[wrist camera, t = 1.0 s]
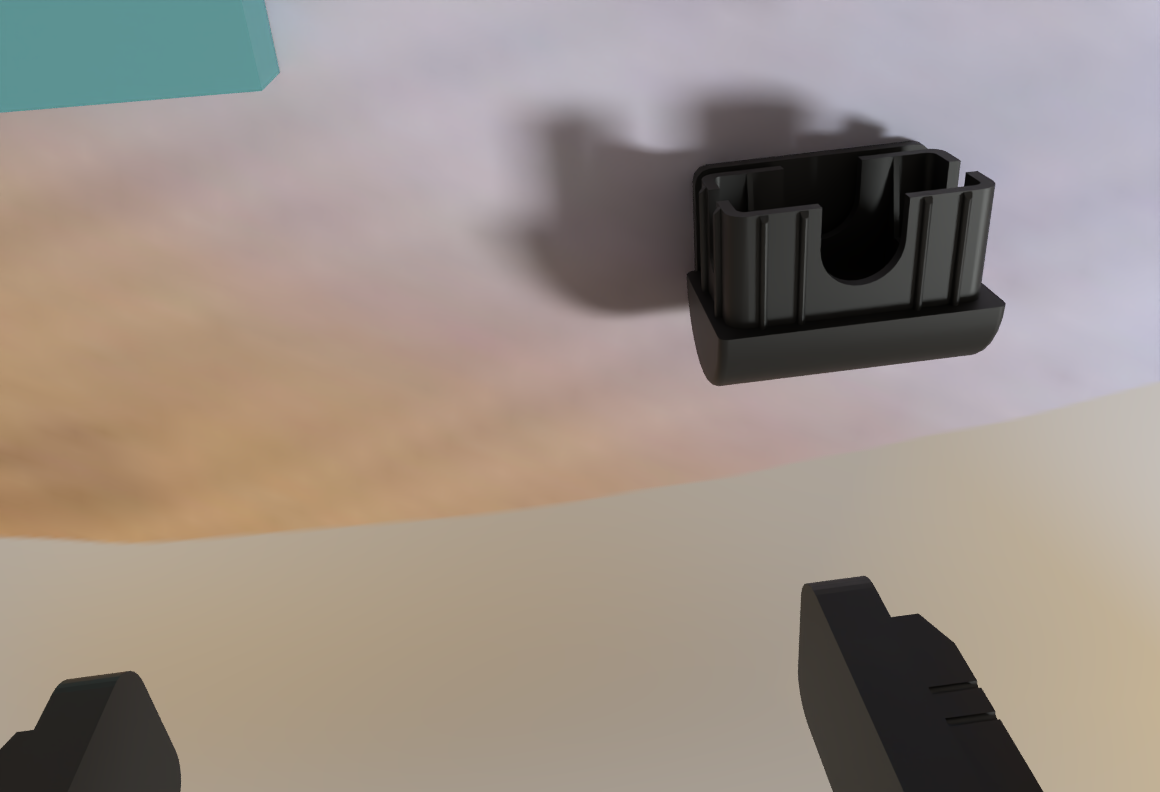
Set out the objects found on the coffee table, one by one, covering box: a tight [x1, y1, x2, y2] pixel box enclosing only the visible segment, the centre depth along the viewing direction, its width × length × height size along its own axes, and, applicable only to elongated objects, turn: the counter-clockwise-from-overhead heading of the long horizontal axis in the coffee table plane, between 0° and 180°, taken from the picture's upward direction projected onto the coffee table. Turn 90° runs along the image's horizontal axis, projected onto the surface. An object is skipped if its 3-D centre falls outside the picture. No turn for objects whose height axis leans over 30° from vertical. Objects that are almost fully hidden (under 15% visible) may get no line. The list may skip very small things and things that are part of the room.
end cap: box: [687, 141, 1005, 386], centre depth 34 cm, size 10×7×7 cm
